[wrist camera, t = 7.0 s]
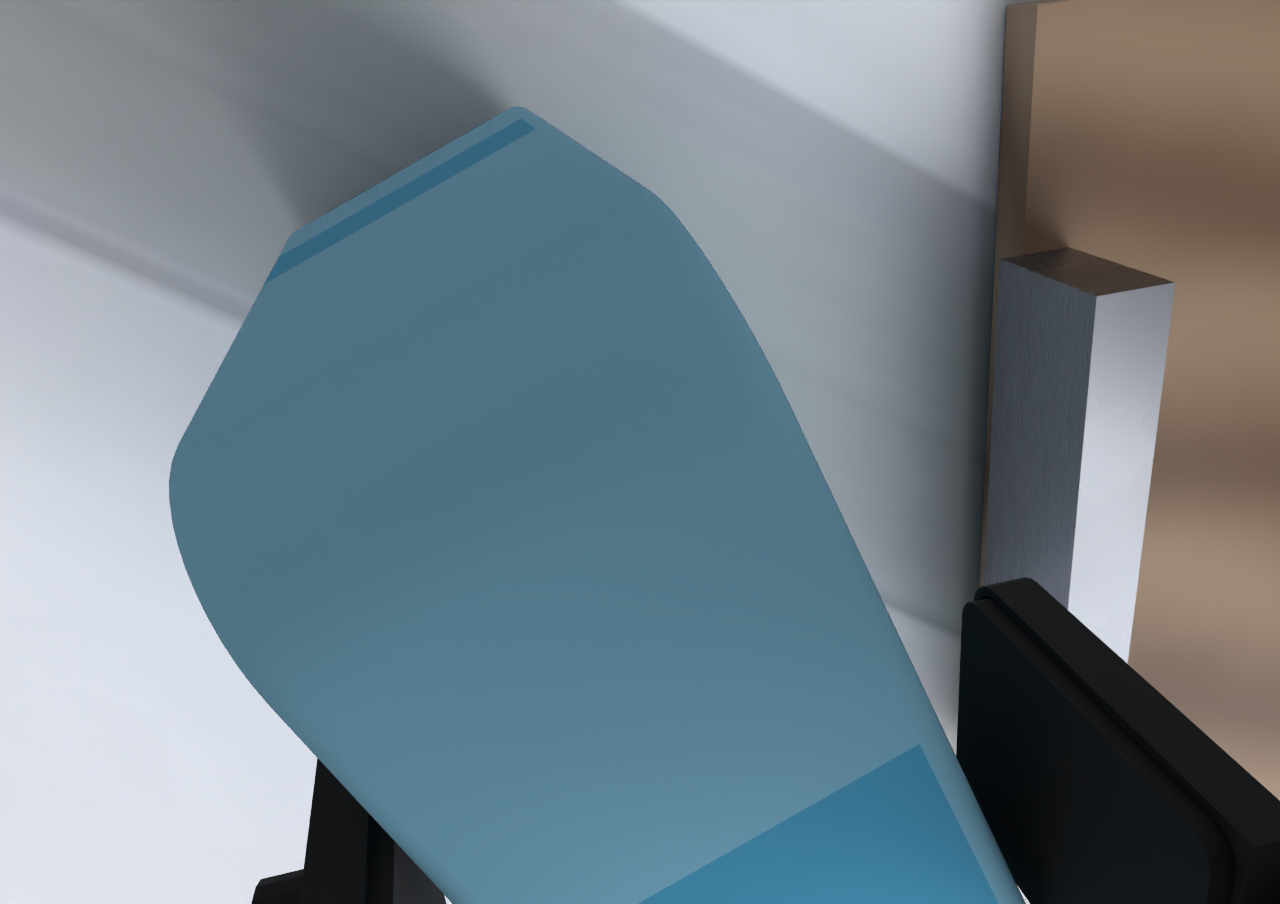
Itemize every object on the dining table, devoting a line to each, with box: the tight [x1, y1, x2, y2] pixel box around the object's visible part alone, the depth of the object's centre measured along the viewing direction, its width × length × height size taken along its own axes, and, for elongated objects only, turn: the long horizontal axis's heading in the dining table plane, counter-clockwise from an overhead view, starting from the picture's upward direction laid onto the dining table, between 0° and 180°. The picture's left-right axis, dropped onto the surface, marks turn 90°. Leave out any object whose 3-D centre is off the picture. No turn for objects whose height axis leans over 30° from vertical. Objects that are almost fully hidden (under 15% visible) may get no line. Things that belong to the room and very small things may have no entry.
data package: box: [169, 107, 1026, 904], centre depth 14 cm, size 12×4×12 cm, turn 27°
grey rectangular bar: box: [984, 247, 1175, 664], centre depth 21 cm, size 13×2×3 cm, turn 6°
